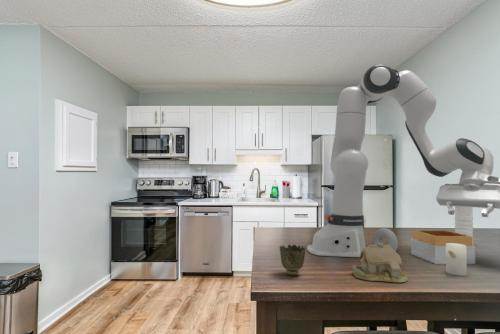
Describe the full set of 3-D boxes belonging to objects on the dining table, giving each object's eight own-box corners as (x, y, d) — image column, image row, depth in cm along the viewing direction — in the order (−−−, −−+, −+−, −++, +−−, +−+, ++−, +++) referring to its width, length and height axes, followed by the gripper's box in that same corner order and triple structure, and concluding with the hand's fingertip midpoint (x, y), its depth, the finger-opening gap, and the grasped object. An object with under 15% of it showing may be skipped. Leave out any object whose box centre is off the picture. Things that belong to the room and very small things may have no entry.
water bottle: (462, 243, 142) (462, 187, 142) (476, 246, 135) (476, 187, 136) (447, 244, 139) (447, 186, 140) (461, 247, 133) (460, 187, 134)
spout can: (449, 269, 99) (448, 242, 99) (468, 273, 95) (468, 245, 96) (440, 275, 93) (439, 245, 94) (460, 279, 89) (460, 249, 90)
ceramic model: (393, 271, 97) (393, 238, 97) (414, 283, 86) (414, 246, 86) (348, 272, 96) (348, 238, 96) (363, 284, 85) (363, 246, 85)
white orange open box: (434, 264, 105) (434, 236, 106) (411, 253, 119) (411, 229, 120) (483, 263, 106) (483, 236, 107) (454, 253, 120) (454, 230, 121)
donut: (371, 252, 120) (371, 226, 121) (377, 252, 122) (377, 225, 122) (393, 259, 112) (393, 230, 112) (400, 258, 113) (400, 229, 113)
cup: (287, 280, 87) (287, 250, 87) (274, 272, 94) (275, 245, 94) (310, 277, 90) (310, 248, 90) (296, 270, 96) (296, 243, 97)
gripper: (438, 178, 118) (430, 206, 111) (509, 178, 103) (504, 210, 96) (442, 189, 121) (434, 217, 114) (512, 191, 105) (507, 223, 98)
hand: (467, 214), depth 104 cm, fingers open, 8 cm apart
